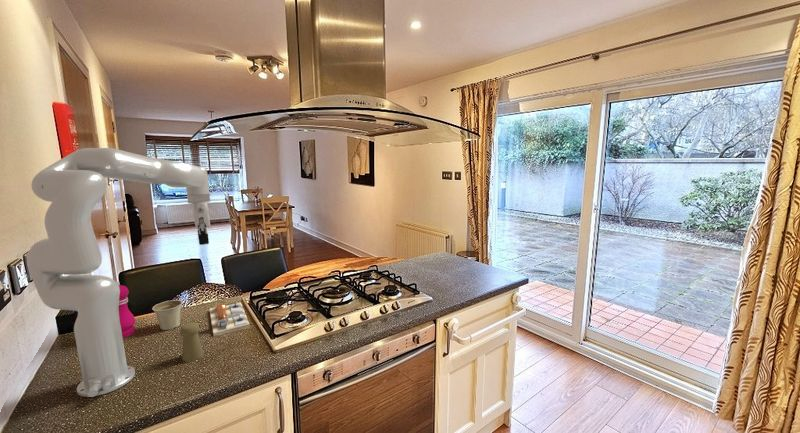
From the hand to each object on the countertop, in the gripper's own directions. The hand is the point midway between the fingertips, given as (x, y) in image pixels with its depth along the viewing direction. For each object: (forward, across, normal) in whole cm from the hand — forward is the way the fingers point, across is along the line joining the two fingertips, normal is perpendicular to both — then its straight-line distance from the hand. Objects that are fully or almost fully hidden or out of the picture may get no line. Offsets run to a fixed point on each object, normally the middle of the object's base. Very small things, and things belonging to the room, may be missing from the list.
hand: (203, 241), depth 135 cm
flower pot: (+31, -4, +14) cm, 34 cm away
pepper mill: (+31, -2, +28) cm, 41 cm away
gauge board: (+30, -10, -6) cm, 32 cm away
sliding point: (+28, -16, -5) cm, 33 cm away
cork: (+31, -32, +7) cm, 45 cm away
